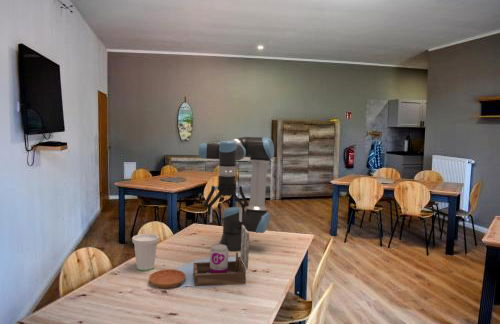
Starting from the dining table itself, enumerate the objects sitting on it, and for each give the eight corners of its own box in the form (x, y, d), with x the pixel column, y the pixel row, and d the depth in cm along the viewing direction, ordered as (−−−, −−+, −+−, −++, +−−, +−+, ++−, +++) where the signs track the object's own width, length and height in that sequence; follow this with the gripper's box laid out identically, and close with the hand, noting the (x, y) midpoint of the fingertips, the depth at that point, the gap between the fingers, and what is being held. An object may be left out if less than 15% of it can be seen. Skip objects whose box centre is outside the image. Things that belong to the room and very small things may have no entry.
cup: (163, 266, 186) (164, 235, 184) (147, 274, 174) (147, 242, 173) (144, 261, 191) (144, 232, 190) (126, 269, 180) (126, 238, 178)
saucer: (167, 293, 156) (167, 286, 156) (141, 283, 165) (141, 277, 164) (193, 280, 170) (193, 274, 170) (167, 272, 178) (167, 266, 178)
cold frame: (193, 272, 178) (194, 225, 176) (241, 270, 183) (243, 224, 181) (194, 286, 163) (195, 234, 161) (247, 283, 168) (249, 233, 166)
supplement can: (224, 282, 168) (225, 250, 167) (207, 280, 170) (208, 248, 169) (229, 275, 176) (230, 244, 175) (212, 273, 178) (213, 243, 177)
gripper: (200, 176, 162) (198, 224, 164) (255, 176, 168) (254, 222, 170) (198, 174, 170) (197, 220, 172) (252, 174, 175) (250, 218, 177)
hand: (225, 221), depth 171 cm, fingers open, 13 cm apart
